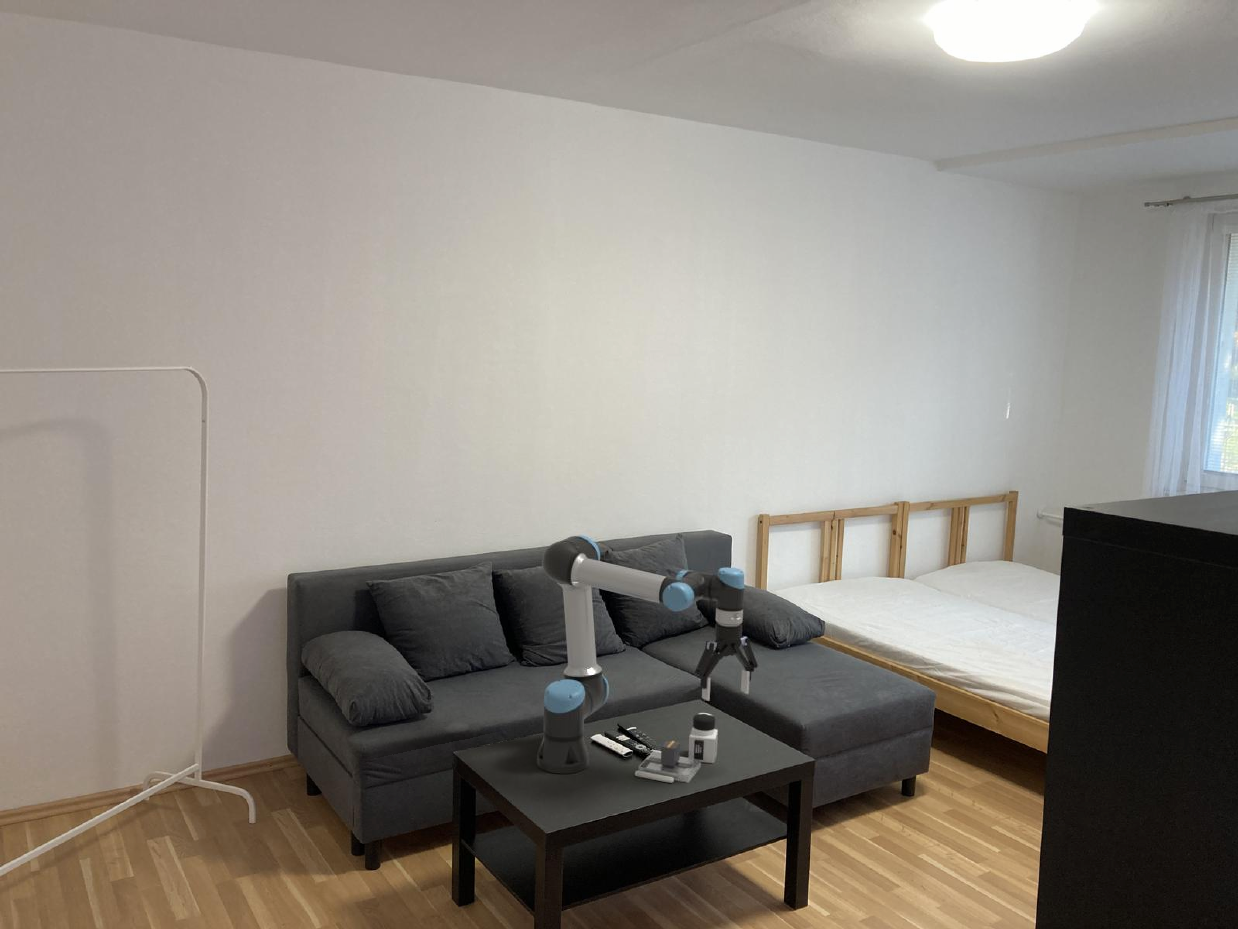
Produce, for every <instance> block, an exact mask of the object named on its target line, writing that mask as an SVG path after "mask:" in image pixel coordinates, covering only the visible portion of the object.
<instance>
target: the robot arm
mask: <svg viewBox="0 0 1238 929" xmlns="http://www.w3.org/2000/svg"><path fill="white" fill-rule="evenodd" d="M541 566H542V568H543V572H544V573H545V575H546V576H547V577H548V578H549V579H551V580H552V581H554V582H556V583H557V584H558V585H559V586H560V587H561V588H562V594H563V606H564V607H563V608H564V610H563V611H564V621H565V622H564V623H565V638H566V649H567V650H566V651H567V664H568V665H567V667H566V668H565V669H564V670H563V679H560V681H559V680H556V681H553V682H551V683H549V684H548V685H547V687H546V688H545V690H544V697H543V738H542V740H541V743H540V747H539V749H538V751H537V754H536V756H537V757H536V764H537V767H538V768H540V770H543V771H545V772H548V773H553V774H573V773H579V772H581V771H583V770H585V769H587V767H589V765H590V764H589V762H590V759H589V758H590V756H589V753H588V749H587V746H586V742H585V739H584V728H585V727H584V724H585V723H584V722H585V719H586V718H588V717H590V716H591V715H592V714H593V713H595V712H596V711H598V710H600V709H601V707H603V706H604V704H605V703H606V701H607V700H608V697H609V694H610V693H609V692H610V686H609V682H608V679H607V678H606V677H605V676H604V674H603V669H602V667H601V666H600V665H599V664H597V652H596V637H595V636H596V635H595V624H594V623H595V621H594V610H593V592H592V591H593V590H592V588H596V589H601V590H604V591H609V592H613V593H616V594H620V595H624V596H629V597H633V598H637V599H642V600H644V601H649V602H654V603H658V604H663V605H664V606H665V607H666V608H667V609H668V610H670V611H673V612H681V611H685V610H686V609H688V608H689V607H691V606H692V605H693V604H695V603H696V602H698V601H699V600H705V601H715V602H716V608H715V621H716V623H715V625H714V626H715V629H714V630H715V632H714V635H715V641H708V640H707V641H705V647H704V650H703V652H702V655H701V657H700V659H699V662H698V664H697V666H696V668H695V670H694V674H695V675H696V676H698V677H700V688H702V689H701V691H702V692H701V698H702V699H703V700H704V701H708V702H709V701H711V700H710V699H711V698H710V695H711V677H710V675H711V674H712V673H713V671H714V670H715V668H716V666H717V665H718V663H719V662H720V661H721V660H722V659H723V658H726V657H728V656H730V657H731V656H733V657H734V656H735V657H736V658H737V659H738V661H739V663H740V664H741V665H742V667H743V668H742V669H741V679H740V692H742V693H744V694H745V695H748V694H749V692H750V682H751V681H752V672H755V669H757V668H759V667H758V665H759V664H758V661H757V659H756V657H755V654H754V652H753V649H752V647H751V639H750V638H749V637H747V636H744V635H743V634H742V633H743V624H742V623H743V618H744V597H745V588H746V586H745V573H744V572H745V571H743V570H742V569H740V568H736V567H721V568H719V569H718V572H717V573H708V572H701V571H695V570H691V569H690V570H680V571H678V572H677V575H676V577H675V578H673V577H668V576H665V575H660V574H656V573H651V572H648V571H643V570H639V569H635V568H630V567H627V566H623V565H618V564H613V563H610V562H605V561H601V552H600V549H599V546H598V545H597V543H596V542H595V541H594V540H593V539H592V538H590V537H588V536H586V535H571V536H569V537H567V538H565V539H564V538H563V540H559V541H556V542H554V543H551V545H549V546H548V547H547V548H546V549H545V550H544V552H543V555H542V559H541ZM740 646H742V649H743V651H744V654H745V655H744V654H743V652H742V650H741V649H740Z"/></svg>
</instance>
